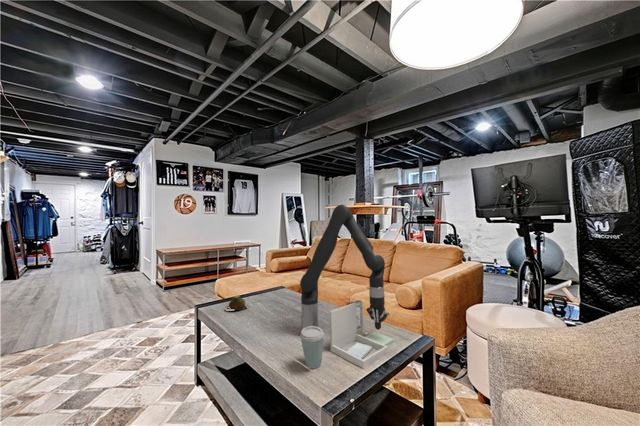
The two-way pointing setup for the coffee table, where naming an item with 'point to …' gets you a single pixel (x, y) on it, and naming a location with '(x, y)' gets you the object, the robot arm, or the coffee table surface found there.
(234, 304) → the cactus
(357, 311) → the disk drive
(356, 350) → the hard drive
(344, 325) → the case
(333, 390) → the coffee table surface
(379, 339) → the mat
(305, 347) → the disposable coffee cup
